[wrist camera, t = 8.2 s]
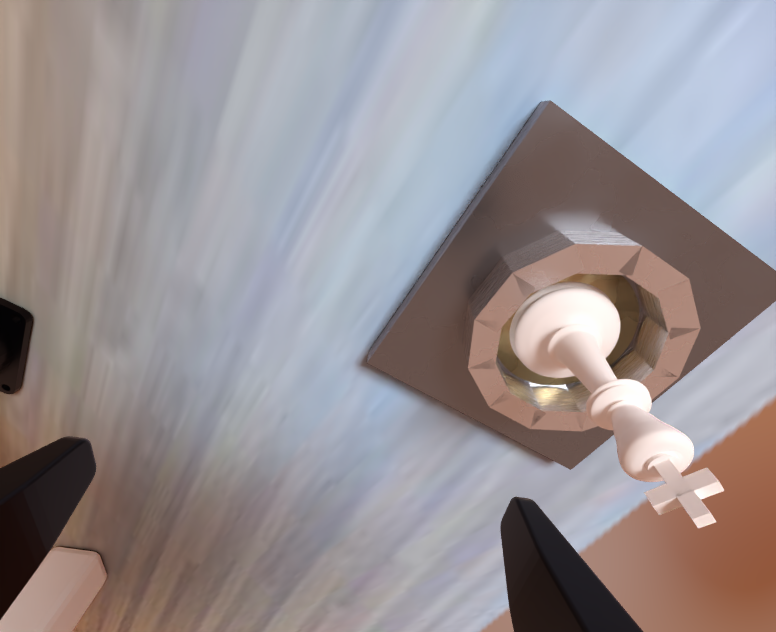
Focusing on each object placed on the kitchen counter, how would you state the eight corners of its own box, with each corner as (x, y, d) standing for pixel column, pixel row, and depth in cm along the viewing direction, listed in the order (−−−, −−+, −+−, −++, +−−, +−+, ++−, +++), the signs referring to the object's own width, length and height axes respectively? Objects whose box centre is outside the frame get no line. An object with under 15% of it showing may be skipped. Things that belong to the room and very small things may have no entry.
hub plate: (563, 454, 24) (584, 499, 21) (368, 350, 21) (362, 386, 18) (772, 275, 18) (839, 304, 15) (540, 101, 15) (570, 97, 13)
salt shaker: (65, 570, 33) (-54, 725, 25) (53, 542, 31) (-80, 699, 23) (111, 576, 33) (9, 733, 25) (102, 549, 31) (-12, 708, 23)
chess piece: (489, 319, 18) (566, 504, 10) (586, 260, 17) (786, 412, 8) (539, 387, 20) (645, 597, 11) (632, 338, 19) (841, 537, 10)
